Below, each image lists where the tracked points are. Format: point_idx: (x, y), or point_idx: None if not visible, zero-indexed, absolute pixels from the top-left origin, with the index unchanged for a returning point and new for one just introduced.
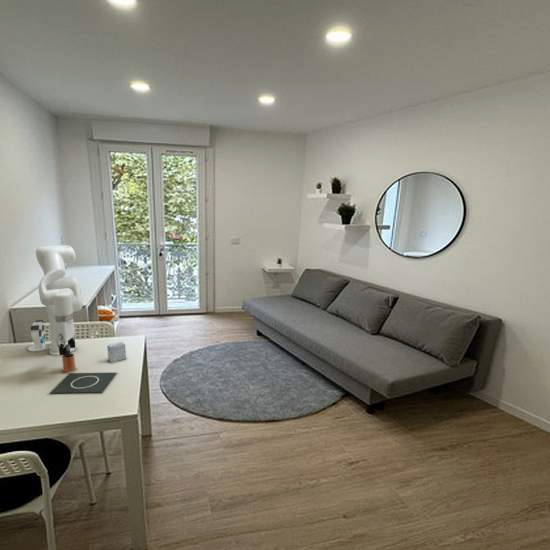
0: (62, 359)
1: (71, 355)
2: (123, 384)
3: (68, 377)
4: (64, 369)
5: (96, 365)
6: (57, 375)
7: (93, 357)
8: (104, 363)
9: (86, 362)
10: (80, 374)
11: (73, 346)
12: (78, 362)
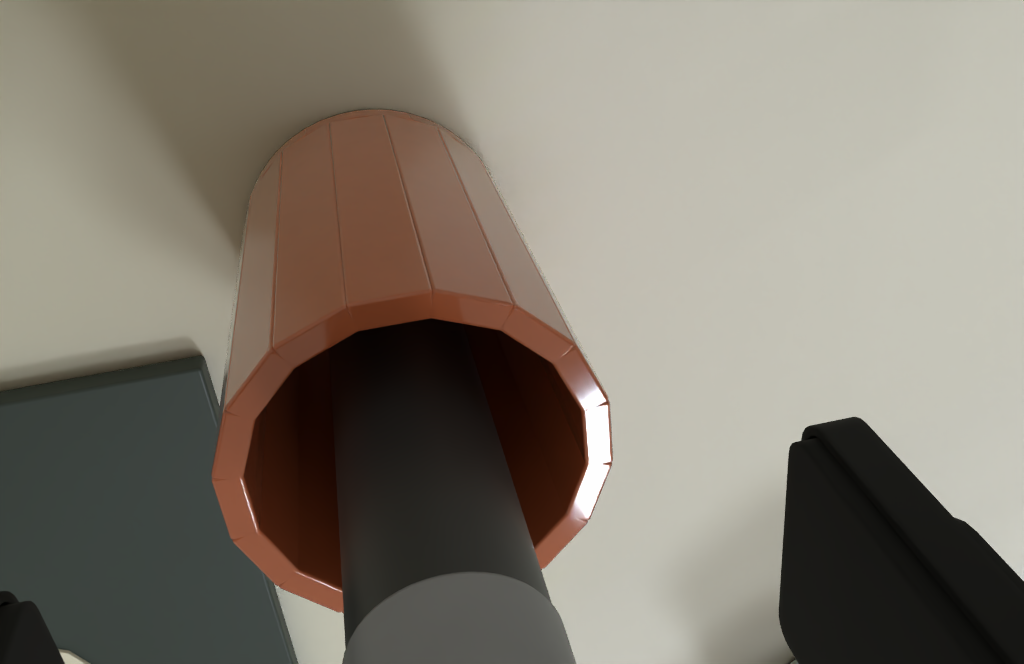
0: (260, 317)
1: (567, 430)
2: None
3: (3, 464)
4: (246, 231)
5: (643, 567)
6: (73, 108)
7: (1006, 329)
8: (720, 632)
9: (782, 334)
10: (200, 583)
11: (809, 645)
12: (796, 172)
